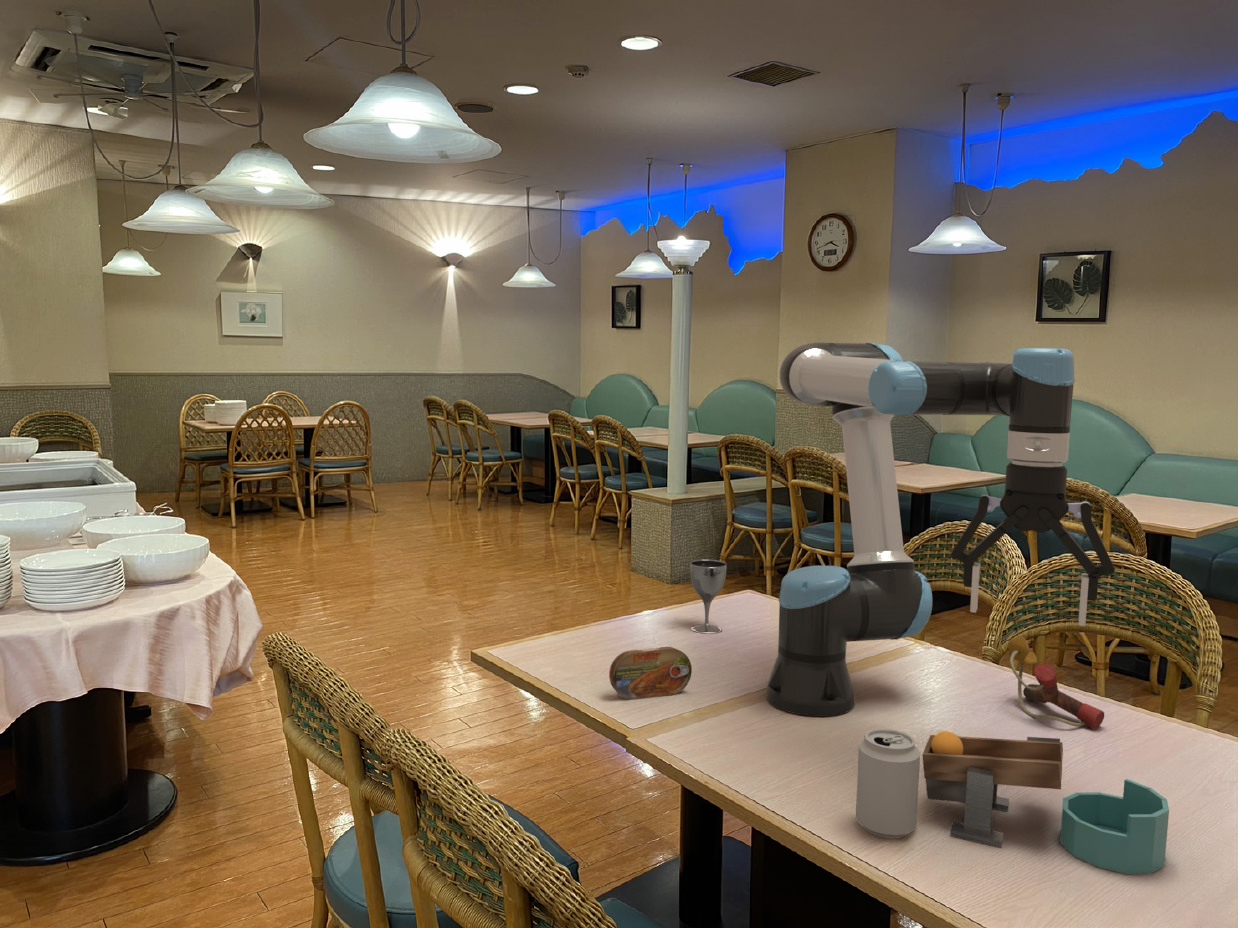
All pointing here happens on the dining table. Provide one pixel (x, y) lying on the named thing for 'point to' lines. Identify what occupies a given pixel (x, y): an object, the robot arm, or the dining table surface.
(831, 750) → the dining table surface
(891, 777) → the can
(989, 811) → the stand
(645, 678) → the tin
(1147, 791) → the teal container
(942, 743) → the ball
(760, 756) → the dining table surface
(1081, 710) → the slingshot
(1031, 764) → the lever
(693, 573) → the wine glass
